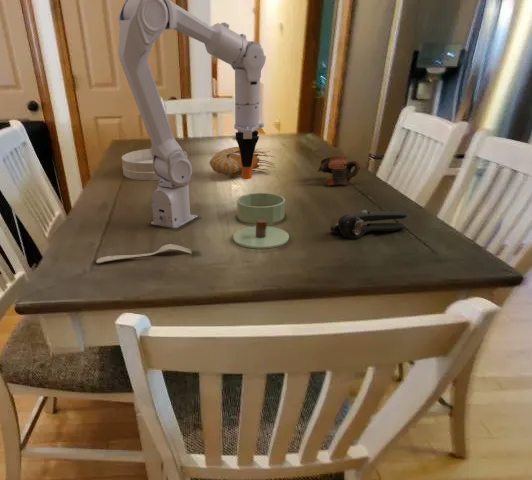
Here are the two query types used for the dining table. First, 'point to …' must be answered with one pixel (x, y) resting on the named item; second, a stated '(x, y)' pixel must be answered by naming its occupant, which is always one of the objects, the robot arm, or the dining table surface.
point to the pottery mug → (338, 169)
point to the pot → (261, 207)
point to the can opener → (355, 226)
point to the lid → (261, 236)
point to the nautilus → (233, 162)
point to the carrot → (246, 171)
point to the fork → (163, 248)
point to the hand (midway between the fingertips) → (246, 164)
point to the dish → (140, 165)
